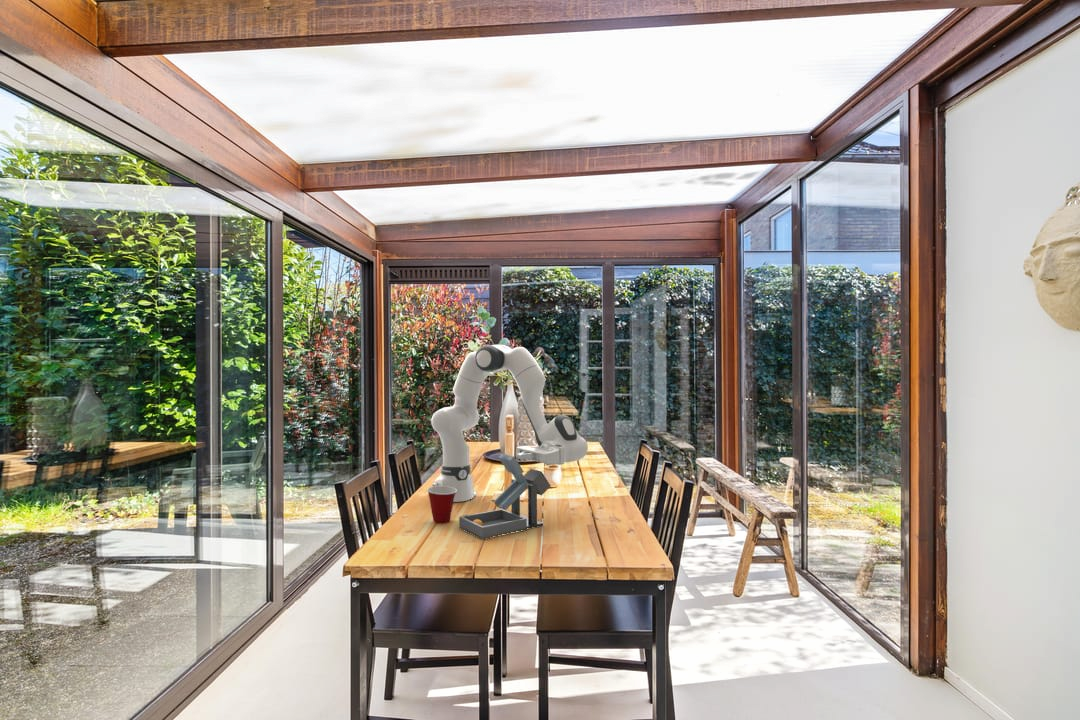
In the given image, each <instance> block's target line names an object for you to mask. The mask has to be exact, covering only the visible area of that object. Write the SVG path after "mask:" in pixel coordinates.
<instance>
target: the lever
mask: <svg viewBox="0 0 1080 720" xmlns="http://www.w3.org/2000/svg"><path fill="white" fill-rule="evenodd" d="M498 459H499V460H500V462H501V463H502V466H503V467H504V468H505V469H506V471H507V472H508V473H511V474H512V476H513V477H514V479H516V480H515V481H514V482H513V483H512V484H509V486H507V487H506V488H505V490H503V491H502V492H501V494H499V496H498V497H496V498H495V499H494V501H492V502H493V503H494V504H495V506H496V507H498V508H499V509H504V510H506V511H507V510H508V508H509V507H511V504H512V503H513V502H514V501H515V500H516V499H517V498H518V497H519V496H520V497H521V496H522V494H523V493H524V492H525V491H526V490H528V485H529V484H536V485H537V495H540V496H543V495H544V494H545V493H546V492H547V491H548V490H549V489H550V487H551V486H552V485H551V484H550V482H549V481H548V479H547V477H546V476H545V474H544V473H543V471H541V470H538V469H534V468H530V469H528V470H527V471H526V472H525V470H524V469H523V467H521V465H520V464H519V462H518V460H517V458H516V457H515V456H514V455H510V454H506V453H501V454H500V455H499V456H498ZM524 472H525V474H523V473H524Z"/></svg>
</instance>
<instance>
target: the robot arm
mask: <svg viewBox="0 0 1080 720" xmlns="http://www.w3.org/2000/svg"><path fill="white" fill-rule="evenodd" d="M503 371H505V372H506V371H509V372H510V374H511V375H512V377H513V379H514V381H515V382H516V384H517V385H516V386H518V389H519V392H520V400H521V403H522V406H523V409H524V411H525V413H526V416H527V419H528V421H529V423H530V425H531V427H532V430H533V431H534V436H535V441H536V443H537V446H536V445H522V446H517V447H516V448H515V456H516V459H520V460H528V461H529V460H530V461H533V462H538V463H542V464H545V465H547V466H551V465H559V466H560V465H565V463H571V462H572V463H573V462H576V461H577V462H578V461H580V460H582V459H584V458H585V457H586V455H587V453H588V447H589V446H588V442H587V440H586V439H585V438H584V437H582V436H581V435H580V433H579V431H577V428H576V426H575V423H574V421H573V419H572V418H570V417H569V416H567V415H564V414H558V415H556V416H555V417H554V418H553V419H552V420H550V421H549V422H547V420H546V417H545V416H544V413H543V411H542V408H541V406H540V405H541V404H540V402H541V401H540V400H541V396H542V393H543V390H544V388H545V386H546V378H545V377H546V376H545V374H544V372H543V370H542V368H541V366H540V365H539V363H538V362H537V360H536V359H535V358H534V356H533V355H532V354H531V353H530V351H528V349H527V348H526V347H523V346H516V347H512V346H510V345H509V344H499V343H498V344H487V345H484V346H481V347H480V348H479V349H478V350H477V351H471V352H469V353H468V354H467V355H466V356H465V359H464V361H463V362H462V365H461V366H460V369H459V372H458V374H457V376H456V379H455V383H454V385H453V388H452V393H453V394H454V396H455V397H454V404H453V405H452V406H447V407H442V408H440V409H438V410H437V411H435V412H433V414H432V417H431V426H432V428H433V430H434V431H435V432H436V433H437V435H438V436H439V439H440V442H441V447H442V465H441V466H440V474H439V476H437V478H436V479H434V482H433V483H432V484H431V487H434V486H447V487H453V488H455V489H457V492H456V493H455V496H454V500H453V503H458V502H467V501H470V499H471V500H472V498H473V499H474V497H476V496H477V492H475V487H474V478H473V476H472V475H471V469H472V467H471V463H470V446H469V444H468V443H467V442H466V441H465V437H464V434H463V432H465V431H468V430H471V429H472V428H474V427H476V426H477V425H478V423H479V422H480V421H479V420H480V413H479V410H478V400H479V396H480V393H481V390H482V388H483V385H484V382H485V380H486V376H487V374H488V373H492V372H493V373H499V372H503ZM427 493H428V492H427ZM428 494H429V493H428ZM428 494H427V495H428Z"/></svg>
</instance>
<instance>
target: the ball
mask: <svg viewBox="0 0 1080 720" xmlns="http://www.w3.org/2000/svg"><path fill="white" fill-rule="evenodd" d="M473 522H474V523H477V524H479V525H481V526H483V523H482V521H481V520H479V519H476V520H474V521H473Z"/></svg>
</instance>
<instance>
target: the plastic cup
mask: <svg viewBox="0 0 1080 720" xmlns="http://www.w3.org/2000/svg"><path fill="white" fill-rule="evenodd" d="M426 491H427V493H429V495H428V497H429V502H430V508H431V509H430V511H431V514H432V520H433V523H434V524H447V522H448V523H450V520H451V517H452V512H453V505H454V502H453V500H454V496H455V493H456V492H457V489H455V488H453V487H447V486H434V487H432V486H430V487H427V489H426Z"/></svg>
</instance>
